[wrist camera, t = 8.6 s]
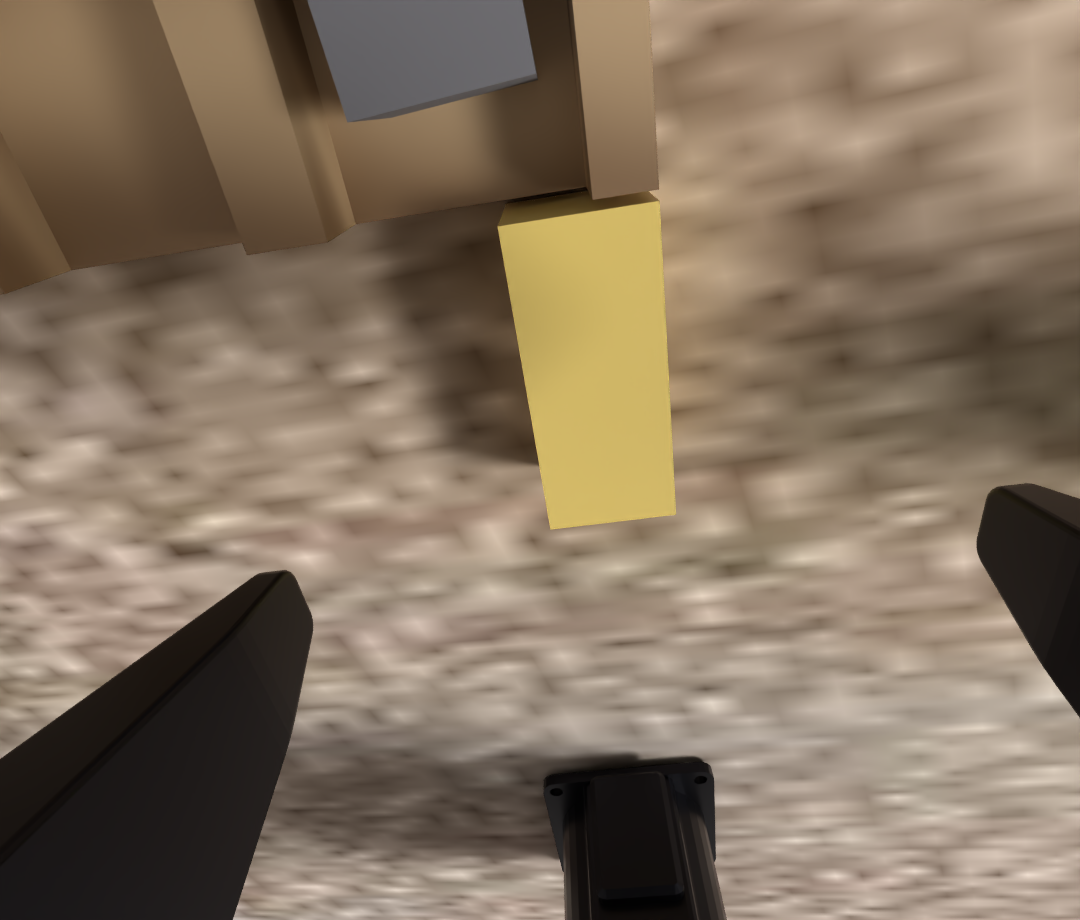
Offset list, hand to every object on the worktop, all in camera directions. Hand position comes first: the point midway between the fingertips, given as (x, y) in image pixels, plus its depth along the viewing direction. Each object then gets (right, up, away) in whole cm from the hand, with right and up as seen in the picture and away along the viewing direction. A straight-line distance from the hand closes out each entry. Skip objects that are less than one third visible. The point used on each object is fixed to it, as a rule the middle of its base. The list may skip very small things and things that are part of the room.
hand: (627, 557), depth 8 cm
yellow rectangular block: (0, +4, +8) cm, 9 cm away
